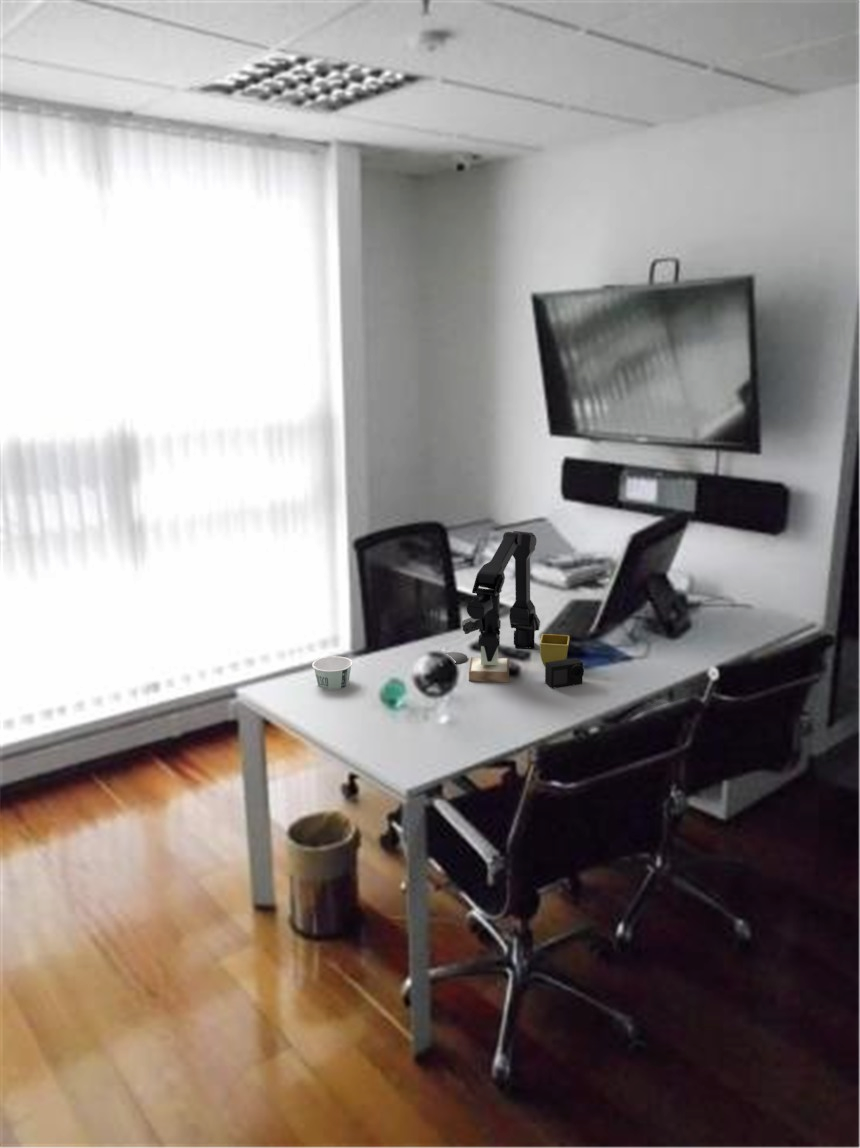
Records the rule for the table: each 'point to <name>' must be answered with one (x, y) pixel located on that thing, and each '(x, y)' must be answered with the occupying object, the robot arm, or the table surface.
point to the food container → (332, 672)
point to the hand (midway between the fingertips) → (489, 658)
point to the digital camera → (563, 673)
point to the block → (484, 658)
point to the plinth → (489, 671)
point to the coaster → (458, 657)
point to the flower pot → (553, 647)
